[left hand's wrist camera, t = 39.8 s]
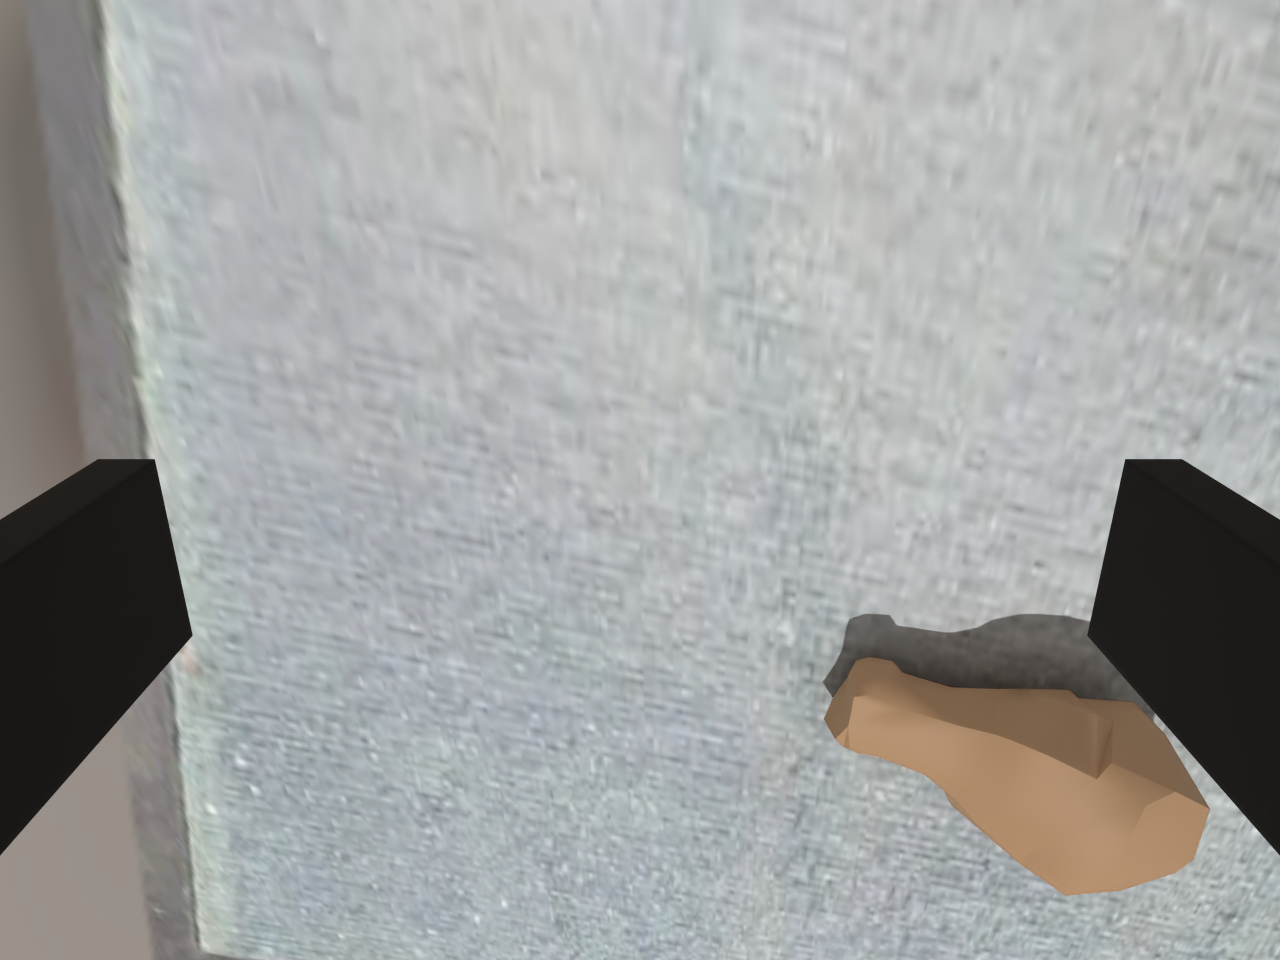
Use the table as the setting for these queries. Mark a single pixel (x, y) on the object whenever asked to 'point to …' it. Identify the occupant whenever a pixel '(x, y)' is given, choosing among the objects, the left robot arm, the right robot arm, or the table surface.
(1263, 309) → the table surface
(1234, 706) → the left robot arm
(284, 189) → the table surface
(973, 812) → the squash
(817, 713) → the table surface
